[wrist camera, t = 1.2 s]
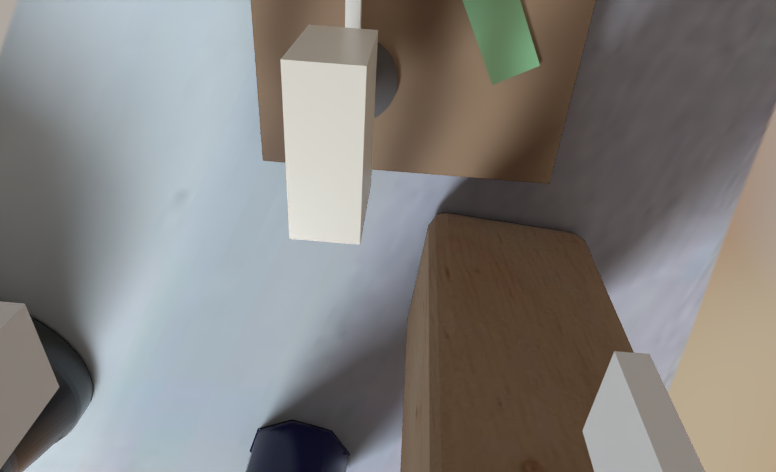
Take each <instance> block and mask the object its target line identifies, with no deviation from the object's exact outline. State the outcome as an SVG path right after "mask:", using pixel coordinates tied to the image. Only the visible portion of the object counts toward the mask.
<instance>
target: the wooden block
mask: <svg viewBox="0 0 776 472" xmlns="http://www.w3.org/2000/svg"><path fill="white" fill-rule="evenodd" d="M614 351H618V352H631V353H634V352H633V350H632V348H631V345H630V343H629V341H628V339H627V336H626V334H625V332H624V329H623V327H622V325H621V323H620V320H619V318H618V316H617V313H616V311H615V309H614V307H613V304H612V302H611V300H610V297H609V295H608V293H607V291H606V288H605V286H604V284H603V281H602V279H601V277H600V275H599V272H598V270H597V268H596V265H595V263H594V261H593V259H592V256H591V254H590V252H589V249H588V247H587V245H586V243H585V240H583V239H582V238H581V237H579V236H577V235H575V234H573V233H571V232H565V231H559V230H552V229H546V228H539V227H533V226H527V225H520V224H514V223H508V222H501V221H495V220H489V219H482V218H476V217H470V216H463V215H457V214H450V213H442V214H436V216H435V218H434V219H433V220H432V222H431V223H430V224H429V226H428V229H427V234H426V238H425V243H424V247H423V252H422V256H421V261H420V265H419V270H418V274H417V279H416V283H415V288H414V292H413V296H412V301H411V305H410V310H409V314H408V319H407V336H406V359H405V381H404V404H403V427H402V450H401V472H594V470H593V466H592V463H591V459H590V456H589V452H588V449H587V445H586V442H585V438H584V435H583V431H582V430H583V428H584V425H585V423H586V420H587V418H588V415H589V413H590V410H591V408H592V405H593V403H594V401H595V398H596V396H597V393H598V391H599V388H600V386H601V383H602V381H603V378H604V376H605V373H606V371H607V368H608V366H609V363H610V361H611V358H612V356H613V353H614Z"/></svg>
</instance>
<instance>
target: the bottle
mask: <svg viewBox="0 0 776 472" xmlns="http://www.w3.org/2000/svg"><path fill="white" fill-rule="evenodd" d="M250 452H251V454H250V457H249V460H248V464H247V467H246V470H245V472H346V467H347V460H348V457H349V455H350V454H349V452H348V451H347V450H346V448H345V447H344V446H343V445H342V443H341V442H340V441H339V440H338V438H337V437H336V436H335V434H334V433H333V432H332V431H331V430H328V429H324V428H320V427H317V426H313V425H310V424H306V423H302V422H299V421H295V420H289V421H285V422H282V423H278V424H274V425H270V426H267V427H263V428H259V429H258V430H257V433H256V435H255V438H254V441H253V444H252V446H251V449H250Z"/></svg>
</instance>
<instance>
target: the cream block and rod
mask: <svg viewBox="0 0 776 472" xmlns="http://www.w3.org/2000/svg"><path fill="white" fill-rule="evenodd" d="M361 16H362V0H345V27H332V26H319V25H308V26H307V27H306V28H305V30H304V31H303V32H302V33H301V35H300V36H299V37H298V38H297V40H296V41H295V42H294V43H293V44H292V46H291V47H290V48H289V49H288V51H287V52H286V53H285V54H284V56H283V57H282V58H281V59H280V62H281V82H282V102H283V122H284V142H285V162H286V181H287V201H288V221H289V239H298V240H310V241H322V242H334V243H346V244H358V245H360V242H361V236H362V231H363V225H364V220H365V214H366V209H367V204H368V198H369V193H370V187H371V172H372V151H373V130H374V109H375V88H376V67H377V46H378V30H371V29H361Z"/></svg>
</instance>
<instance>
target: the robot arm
mask: <svg viewBox="0 0 776 472" xmlns="http://www.w3.org/2000/svg"><path fill="white" fill-rule="evenodd" d="M91 398H92V382H91V378H90V375H89V373H88V370H87V368H86V366H85V365H84V363H83V361H82V360H81V359H80V357H79V356H78V355H77V353H76V352H75V351H74V350H73V349H72V348H71V347H70V346H69V345H68V344H67V343H66V342H65V341H64V340H63V339H62V338H61V337H60V336H58V335H57V334H56V333H54V332H53V331H52V330H50V329H49V328H47V327H46V326H44V325H43V324H41V323H40V322H38V321H36V320H34V319H33V318H31V317H30V314H29V312H28V310H27V307H26V305H25V303H13V302H1V301H0V472H23V471H24V470H25V469H26V468H27V467H28V466H30V465H31V464H32V463H33V462H34V461H35V460H37V459H38V458H39V457H40V456H41V455H42V454H43V453H44V452H46V451H47V450H48V449H49V448H50V447H51V446H52V445H53V444H54V443H56V442H58V441H59V440H61V439H62V438H63V437H65V436H66V435H67V434H68V433H69V432H70V431H71V430H72V429H73V428H74V427H75V426H76V424H77V423H78V421H79V419H80V418H81V416H82V415H83V413H84V412H85V410H86V409H87V407H88V405H89V403H90V401H91ZM582 431H583V435H584V438H585V442H586V445H587V449H588V452H589V456H590V459H591V463H592V466H593V470H594V472H705V470H704V468H703V466H702V464H701V462H700V460H699V458H698V456H697V454H696V452H695V449H694V447H693V445H692V443H691V441H690V439H689V437H688V434H687V433H686V431H685V428H684V426H683V424H682V422H681V420H680V418H679V416H678V413H677V411H676V409H675V407H674V405H673V403H672V401H671V399H670V396H669V394H668V392H667V390H666V388H665V386H664V384H663V382H662V380H661V377H660V375H659V373H658V371H657V369H656V367H655V365H654V363H653V361H652V358H651V356H650V354H643V353H631V352H618V351H614V353H613V356H612V358H611V361H610V363H609V366H608V368H607V371H606V373H605V376H604V378H603V381H602V383H601V386H600V388H599V391H598V393H597V396H596V398H595V401H594V403H593V405H592V408H591V410H590V413H589V415H588V418H587V420H586V423H585V425H584V428H583V430H582Z"/></svg>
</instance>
